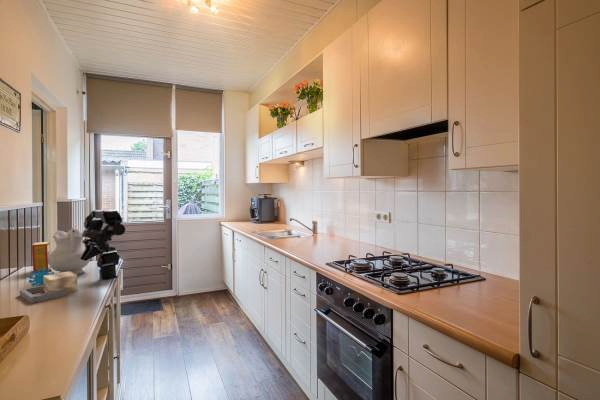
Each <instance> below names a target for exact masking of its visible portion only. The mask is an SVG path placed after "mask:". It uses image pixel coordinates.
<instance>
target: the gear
mask: <svg viewBox="0 0 600 400" xmlns="http://www.w3.org/2000/svg"><path fill="white" fill-rule="evenodd" d="M52 270H53V269H52V268H50V269H49V270H48V271H47V268H44V270H43V271H42V272H41V269H38V273H36V272H33V271H32V272H31V274H32V275H29V276H28V279H29V280H28V284H30V285H31V287H36V286H40V285H44V282H43V276H45V275H51V274H55V272H54V271H52ZM45 271H47V272H45ZM33 276H34V277H33Z"/></svg>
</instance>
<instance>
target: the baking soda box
mask: <svg viewBox="0 0 600 400" xmlns="http://www.w3.org/2000/svg"><path fill="white" fill-rule="evenodd" d="M50 244H51V243H50V241H41V242H40V241H38V242H34V243H33V244H31V251H32V253H31V254H32V270H33V271H32V273H33V272H36V274H38V269H41V272H42V271H43V270H44V268H47V271H48V270H49V269H52V268H51V267H50V266H49V264H48V255H49V254H50V253H51V245H50ZM47 271H45V272H47Z"/></svg>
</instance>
